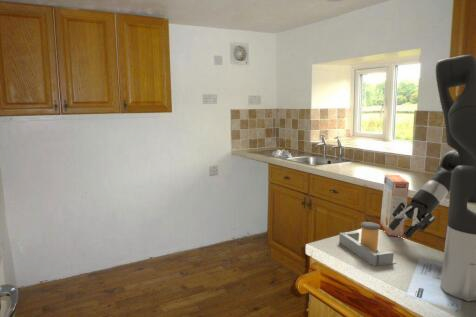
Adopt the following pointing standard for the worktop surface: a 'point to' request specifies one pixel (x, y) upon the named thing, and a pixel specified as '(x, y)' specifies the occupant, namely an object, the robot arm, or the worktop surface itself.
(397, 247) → the worktop surface
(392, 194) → the cracker box
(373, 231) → the orange cylinder
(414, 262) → the worktop surface
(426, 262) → the worktop surface
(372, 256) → the duct tray
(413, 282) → the worktop surface
